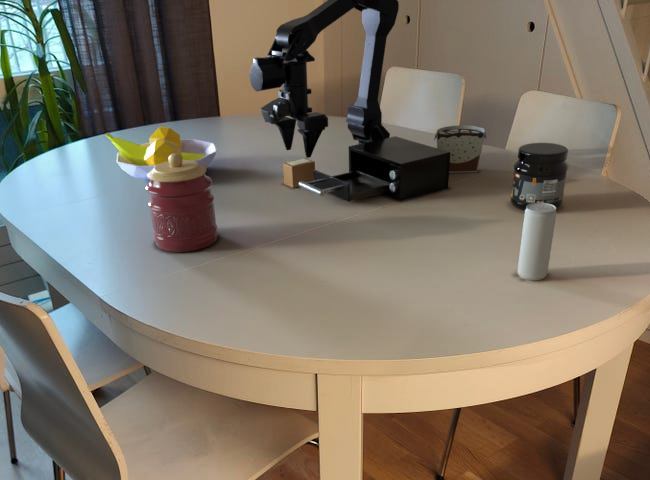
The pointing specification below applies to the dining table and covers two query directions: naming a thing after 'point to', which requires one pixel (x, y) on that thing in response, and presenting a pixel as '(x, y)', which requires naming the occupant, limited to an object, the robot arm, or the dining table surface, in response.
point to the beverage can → (536, 241)
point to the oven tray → (346, 185)
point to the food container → (461, 146)
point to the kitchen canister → (181, 205)
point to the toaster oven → (402, 166)
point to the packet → (298, 172)
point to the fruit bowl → (160, 151)
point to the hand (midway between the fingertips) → (298, 153)
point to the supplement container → (539, 175)
